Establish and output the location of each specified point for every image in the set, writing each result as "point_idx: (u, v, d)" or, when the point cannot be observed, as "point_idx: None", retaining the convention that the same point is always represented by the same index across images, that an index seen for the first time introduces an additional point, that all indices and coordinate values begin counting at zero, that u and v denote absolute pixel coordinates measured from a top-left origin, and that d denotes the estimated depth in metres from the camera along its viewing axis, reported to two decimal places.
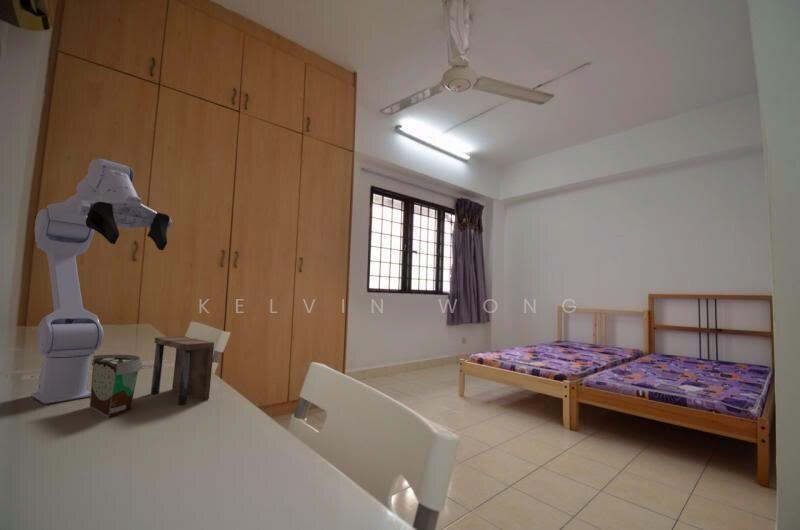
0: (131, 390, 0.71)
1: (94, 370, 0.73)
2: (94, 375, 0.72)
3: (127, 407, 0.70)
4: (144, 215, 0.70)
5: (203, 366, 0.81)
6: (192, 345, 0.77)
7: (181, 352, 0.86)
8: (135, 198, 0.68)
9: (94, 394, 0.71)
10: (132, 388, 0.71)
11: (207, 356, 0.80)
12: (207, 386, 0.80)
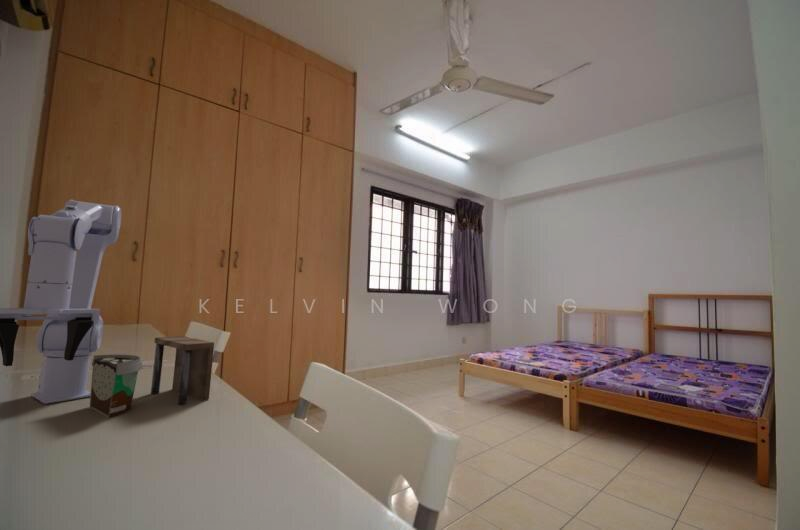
0: (131, 390, 0.71)
1: (94, 370, 0.73)
2: (94, 375, 0.72)
3: (127, 407, 0.70)
4: (65, 315, 0.64)
5: (203, 366, 0.81)
6: (192, 345, 0.77)
7: (181, 352, 0.86)
8: (53, 313, 0.61)
9: (94, 394, 0.71)
10: (132, 388, 0.71)
11: (207, 356, 0.80)
12: (207, 386, 0.80)
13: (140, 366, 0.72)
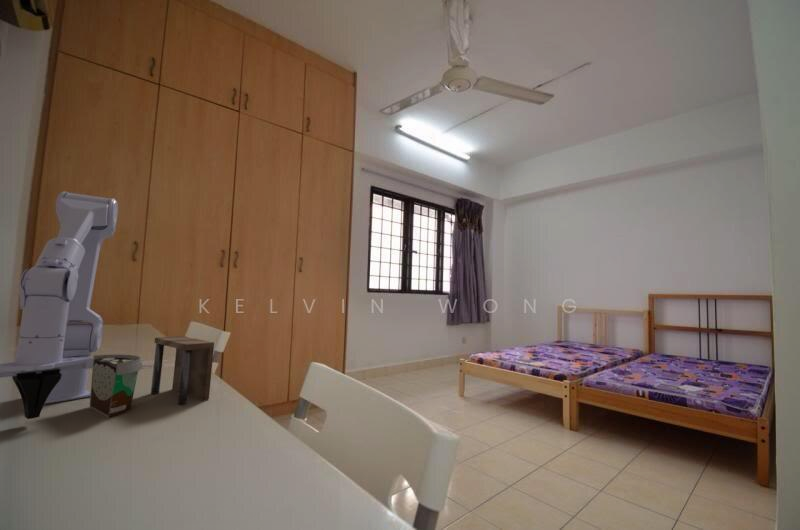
0: (131, 390, 0.71)
1: (94, 370, 0.73)
2: (94, 375, 0.72)
3: (127, 407, 0.70)
4: (58, 367, 0.64)
5: (203, 366, 0.81)
6: (192, 345, 0.77)
7: (181, 352, 0.86)
8: (45, 368, 0.60)
9: (94, 394, 0.71)
10: (132, 388, 0.71)
11: (207, 356, 0.80)
12: (207, 386, 0.80)
13: (140, 366, 0.72)
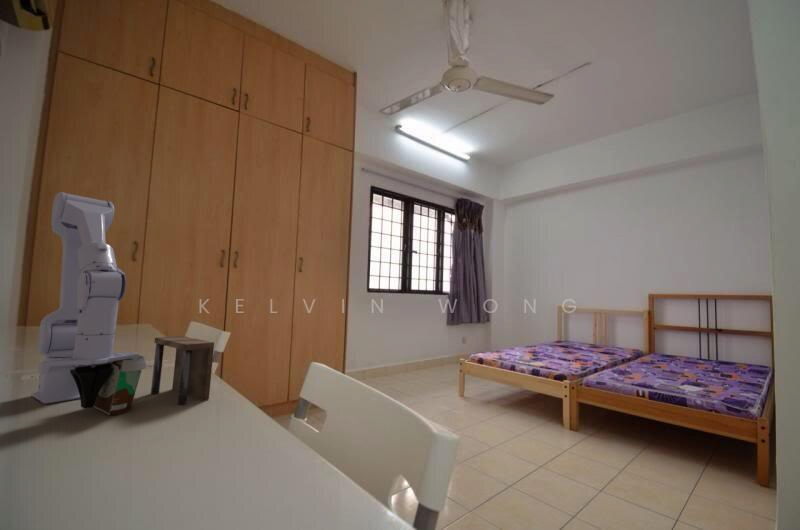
0: (133, 389, 0.71)
1: None
2: None
3: (128, 406, 0.70)
4: (109, 362, 0.70)
5: (203, 366, 0.81)
6: (192, 345, 0.77)
7: (181, 352, 0.86)
8: (100, 362, 0.66)
9: None
10: (134, 387, 0.71)
11: (207, 356, 0.80)
12: (207, 386, 0.80)
13: (144, 365, 0.73)
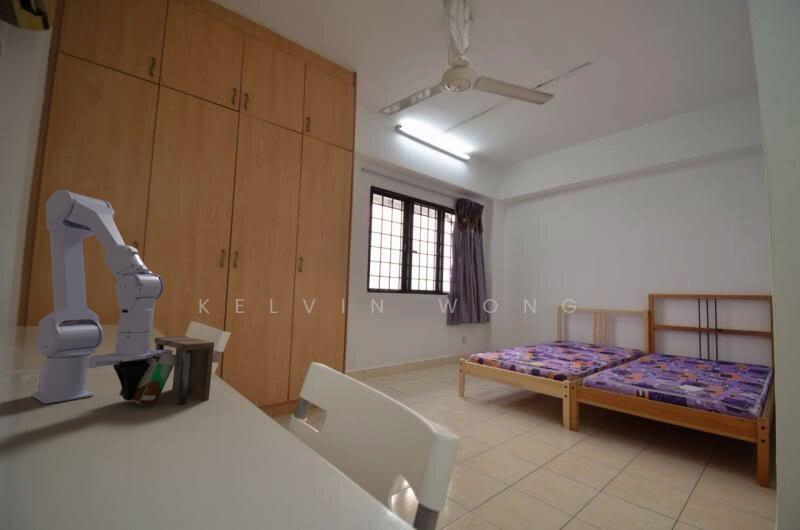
0: (163, 383, 0.76)
1: None
2: None
3: (155, 399, 0.74)
4: (147, 358, 0.75)
5: (203, 366, 0.81)
6: (192, 345, 0.77)
7: (181, 352, 0.86)
8: (140, 358, 0.72)
9: None
10: (164, 382, 0.76)
11: (207, 356, 0.80)
12: (207, 386, 0.80)
13: (177, 362, 0.78)
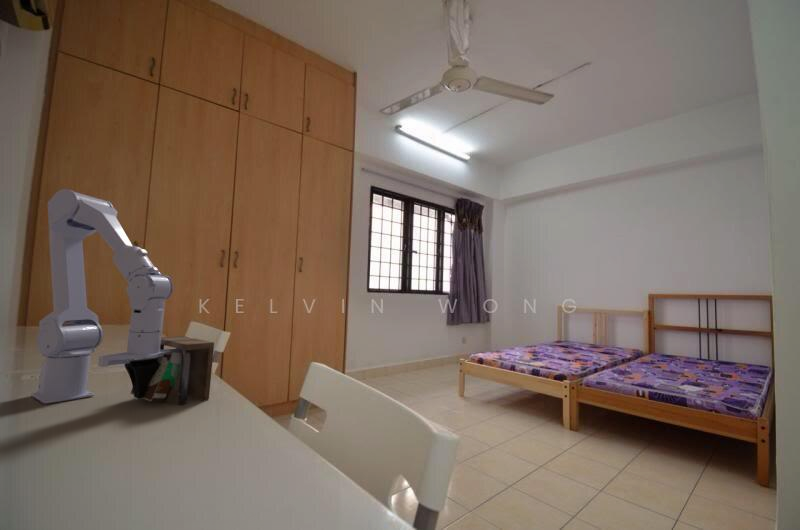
0: (174, 382, 0.77)
1: None
2: None
3: (166, 397, 0.76)
4: (157, 357, 0.77)
5: (203, 366, 0.81)
6: (192, 345, 0.77)
7: None
8: (151, 357, 0.73)
9: None
10: (175, 380, 0.78)
11: (207, 356, 0.80)
12: (207, 386, 0.80)
13: None
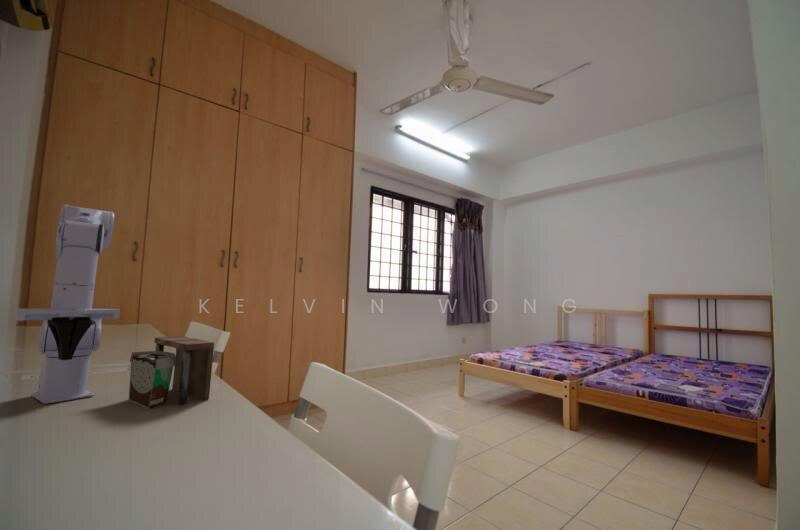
0: (168, 384, 0.76)
1: (132, 366, 0.78)
2: (133, 370, 0.78)
3: (164, 400, 0.76)
4: (88, 315, 0.69)
5: (203, 366, 0.81)
6: (192, 345, 0.77)
7: (181, 352, 0.86)
8: (79, 313, 0.65)
9: (133, 388, 0.77)
10: (168, 382, 0.77)
11: (207, 356, 0.80)
12: (207, 386, 0.80)
13: (175, 362, 0.78)
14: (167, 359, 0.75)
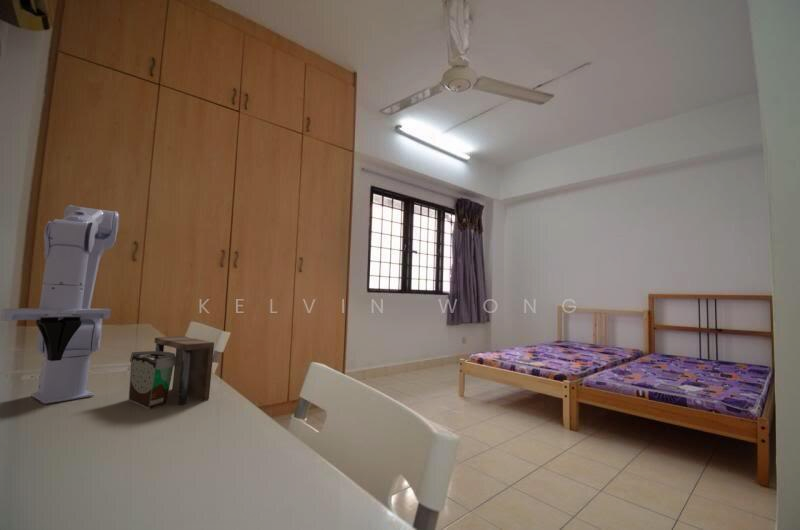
0: (168, 384, 0.76)
1: (132, 366, 0.78)
2: (133, 370, 0.78)
3: (164, 400, 0.76)
4: (78, 315, 0.68)
5: (203, 366, 0.81)
6: (192, 345, 0.77)
7: (181, 352, 0.86)
8: (67, 313, 0.64)
9: (133, 388, 0.77)
10: (168, 382, 0.77)
11: (207, 356, 0.80)
12: (207, 386, 0.80)
13: (175, 362, 0.78)
14: (167, 359, 0.75)
